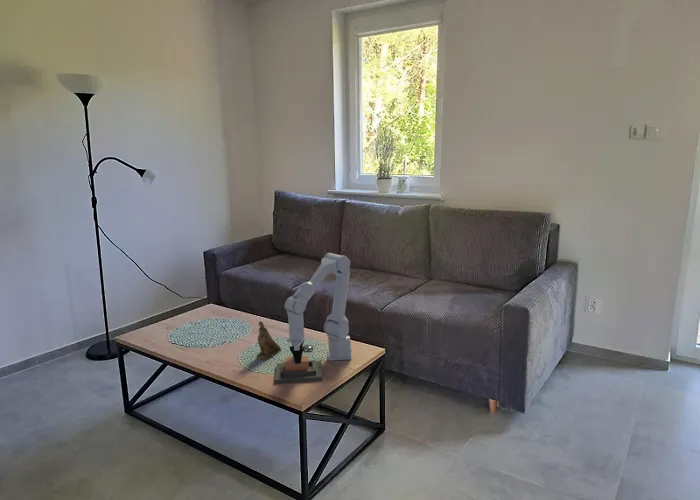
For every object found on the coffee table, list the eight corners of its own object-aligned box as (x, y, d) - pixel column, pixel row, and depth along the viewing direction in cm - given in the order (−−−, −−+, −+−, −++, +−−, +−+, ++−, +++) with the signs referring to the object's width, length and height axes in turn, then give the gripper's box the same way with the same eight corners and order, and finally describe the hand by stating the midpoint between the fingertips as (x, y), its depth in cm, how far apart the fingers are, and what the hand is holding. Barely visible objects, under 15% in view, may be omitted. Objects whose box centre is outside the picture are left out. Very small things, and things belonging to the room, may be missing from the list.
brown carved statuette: (264, 365, 209) (255, 329, 202) (255, 362, 212) (246, 326, 205) (283, 350, 218) (275, 315, 210) (274, 347, 221) (266, 312, 214)
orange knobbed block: (285, 366, 197) (284, 355, 196) (308, 364, 198) (307, 353, 197) (285, 372, 193) (284, 360, 191) (308, 370, 193) (307, 358, 192)
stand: (321, 363, 203) (321, 357, 203) (322, 380, 190) (322, 373, 189) (277, 366, 202) (276, 360, 201) (274, 383, 188) (274, 376, 188)
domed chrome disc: (313, 347, 220) (313, 344, 219) (313, 351, 216) (313, 348, 216) (304, 348, 219) (304, 345, 219) (304, 352, 216) (304, 349, 215)
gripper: (286, 321, 198) (288, 352, 201) (285, 335, 184) (287, 369, 187) (304, 320, 199) (305, 351, 202) (304, 334, 185) (306, 367, 188)
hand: (298, 360), depth 195 cm, fingers closed on orange knobbed block, 5 cm apart
